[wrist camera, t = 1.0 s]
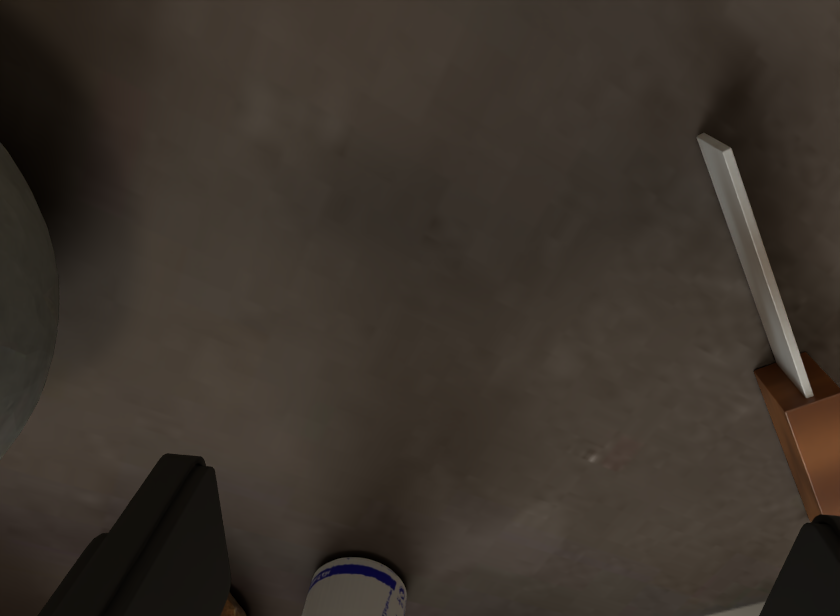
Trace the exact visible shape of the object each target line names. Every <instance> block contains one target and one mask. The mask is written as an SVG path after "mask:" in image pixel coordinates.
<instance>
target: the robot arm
mask: <svg viewBox="0 0 840 616" xmlns="http://www.w3.org/2000/svg"><path fill="white" fill-rule="evenodd" d="M230 585H231V573H230V566H229V560H228V553H227V546H226V540H225V533H224V527H223V520H222V514H221V507H220V501H219V494H218V488H217V481H216V475H215V470H214V468H213V467H208V466H206V464H205V461H204V459H203V458H202V457H199V456H189V455H178V454H168V453H167V454H165V455H163V456H162V457H161V458H160V460H159V461H158V462H157V464H156V465H155V467H154V468H153V470H152V471H151V472H150V474H149V475H148V477H147V478H146V480H145V481H144V483H143V484H142V485H141V487H140V488H139V490H138V491H137V493H136V494H135V496H134V497H133V498H132V500H131V501H130V503H129V504H128V506H127V507H126V509H125V510H124V511H123V513H122V514H121V516H120V517H119V519H118V520H117V522H116V523H115V524H114V526H113V527H112V529H111V530H110V532H109V533H102V534H100V535H99V536H97V537H96V538H94V539H93V540H92V542H91V543H90V544H89V545H88V546H87V547H86V549H85V550H84V551H83V553H82V554H81V556H80V557H79V558H78V560H77V561H76V563H75V564H74V565H73V567H72V568H71V570H70V571H69V572H68V574H67V575H66V577H65V578H64V579H63V581H62V582H61V584H60V585H59V586H58V588H57V589H56V591H55V592H54V593H53V595H52V596H51V598H50V599H49V600H48V602H47V603H46V605H45V606H44V607H43V609H42V610H41V612H40V613H39V614H38V616H220V615H221V613H222V611H223V608H224V606H225V603H226V601H227V598H228V595H229V591H230ZM759 616H840V516H835V515H823V514H819V515H818V516H816V517H815V518H814V519H813V520H812V522H811V523H806V524H804V525H803V527H802V528H801V530H800V532H799V534H798V536H797V538H796V540H795V542H794V544H793V546H792V549H791V551H790V553H789V555H788V557H787V559H786V561H785V563H784V565H783V567H782V569H781V571H780V573H779V576H778V578H777V580H776V582H775V584H774V586H773V588H772V590H771V592H770V594H769V596H768V598H767V600H766V603H765V605H764V607H763V609H762V611H761V613H760V615H759Z"/></svg>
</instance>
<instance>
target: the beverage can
mask: <svg viewBox="0 0 840 616" xmlns="http://www.w3.org/2000/svg"><path fill="white" fill-rule="evenodd" d="M406 599H407V593H406V589H405V586H404V584H403V582H402V581H401V579H400V578H399V577H398V576H397V575H396V574H395V573H394V572H393V571H392V570H391V569H390V568H388V567H387V566H385V565H383V564H381V563H379V562H376V561H373V560H370V559H367V558H361V557H347V558H340V559H336V560H333V561H331V562H329V563H327V564H325V565H323V566H322V567H320V568H319V569H318V570H317V571H316V573H315V574H314V576H313V578H312V581H311V585H310V588H309V592H308V595H307V599H306V603H305V606H304V610H303V613H302V616H405V608H406Z"/></svg>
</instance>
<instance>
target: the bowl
mask: <svg viewBox="0 0 840 616" xmlns="http://www.w3.org/2000/svg"><path fill="white" fill-rule="evenodd" d="M58 318H59V279H58V273H57V267H56V261H55V255H54V250H53V246H52V242H51V239H50V235H49V231H48V227H47V225H46V223H45V221H44V218H43V216H42V214H41V212H40V209H39V207H38V205H37V203H36V200H35V198H34V196H33V194H32V192H31V190H30V188H29V186H28V184H27V182H26V180H25V179H24V177H23V175H22V174H21V172H20V170H19V169H18V167H17V166H16V164H15V162H14V161H13V159H12V158H11V156H10V154H9V153H8V151H7V150H6V149H5V147H4V146H3V145H2V144H1V142H0V460H1V458H2V457H3V456H4V454H5V453H6V452H7V450H8V449H9V448H10V446H11V445H12V443H13V442H14V441H15V439H16V438H17V437H18V435H19V434H20V433H21V431H22V429H23V427H24V426H25V424H26V422H27V421H28V419H29V417H30V415H31V414H32V412H33V410H34V408H35V406H36V405H37V403H38V401H39V398H40V396H41V393H42V390H43V388H44V385H45V381H46V378H47V374H48V371H49V368H50V364H51V361H52V357H53V353H54V348H55V342H56V337H57V325H58Z"/></svg>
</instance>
